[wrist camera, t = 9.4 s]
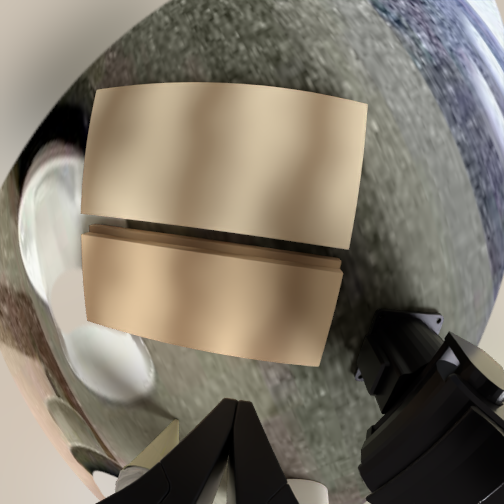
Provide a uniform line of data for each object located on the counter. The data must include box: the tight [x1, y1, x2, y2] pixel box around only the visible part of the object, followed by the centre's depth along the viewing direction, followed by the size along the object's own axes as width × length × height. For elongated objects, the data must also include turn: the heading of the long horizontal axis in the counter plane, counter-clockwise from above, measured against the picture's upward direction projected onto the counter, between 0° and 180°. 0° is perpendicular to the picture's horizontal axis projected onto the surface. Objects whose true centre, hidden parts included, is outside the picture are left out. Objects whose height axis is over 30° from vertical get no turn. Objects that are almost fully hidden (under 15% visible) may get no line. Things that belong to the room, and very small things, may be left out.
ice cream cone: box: [115, 419, 179, 492], centre depth 16 cm, size 5×5×15 cm
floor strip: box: [81, 224, 343, 367], centre depth 19 cm, size 18×8×2 cm, turn 83°
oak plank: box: [81, 82, 367, 250], centre depth 17 cm, size 18×9×2 cm, turn 83°
